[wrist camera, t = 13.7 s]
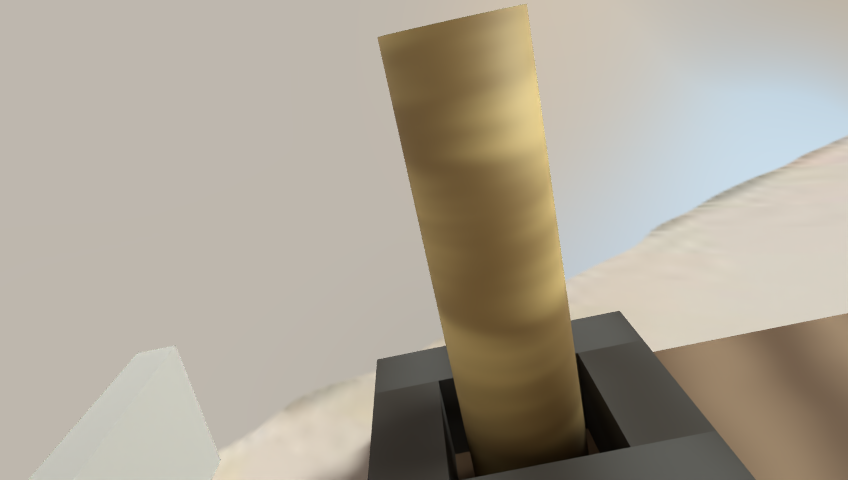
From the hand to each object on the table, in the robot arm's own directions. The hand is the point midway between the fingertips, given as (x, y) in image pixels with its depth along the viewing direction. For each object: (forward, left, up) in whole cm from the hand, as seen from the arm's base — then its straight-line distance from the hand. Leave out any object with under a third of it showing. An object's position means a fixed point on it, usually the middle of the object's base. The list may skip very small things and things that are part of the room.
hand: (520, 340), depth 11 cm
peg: (0, -7, -10) cm, 12 cm away
